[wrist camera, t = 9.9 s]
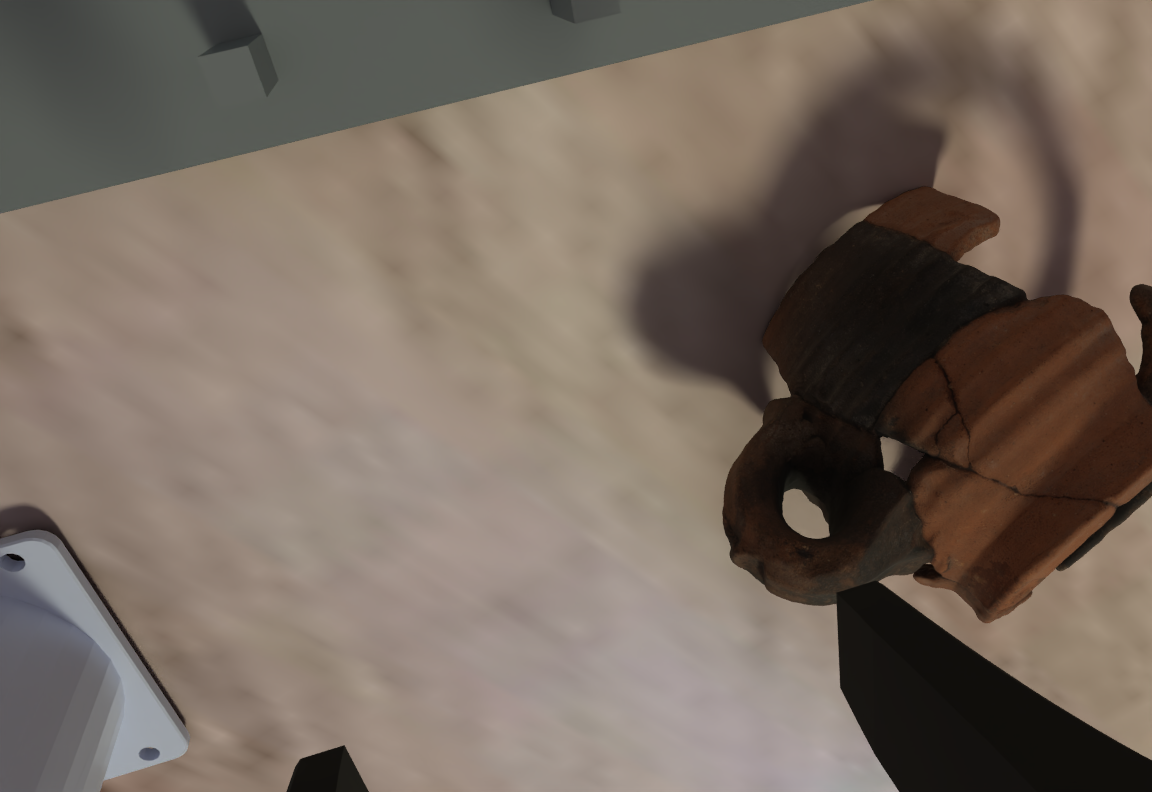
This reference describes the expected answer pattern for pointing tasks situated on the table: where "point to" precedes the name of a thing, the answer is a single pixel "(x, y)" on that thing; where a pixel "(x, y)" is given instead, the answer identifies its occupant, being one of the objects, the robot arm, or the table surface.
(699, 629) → the table surface
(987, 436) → the pottery mug
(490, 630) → the table surface
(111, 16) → the miniature lathe model
